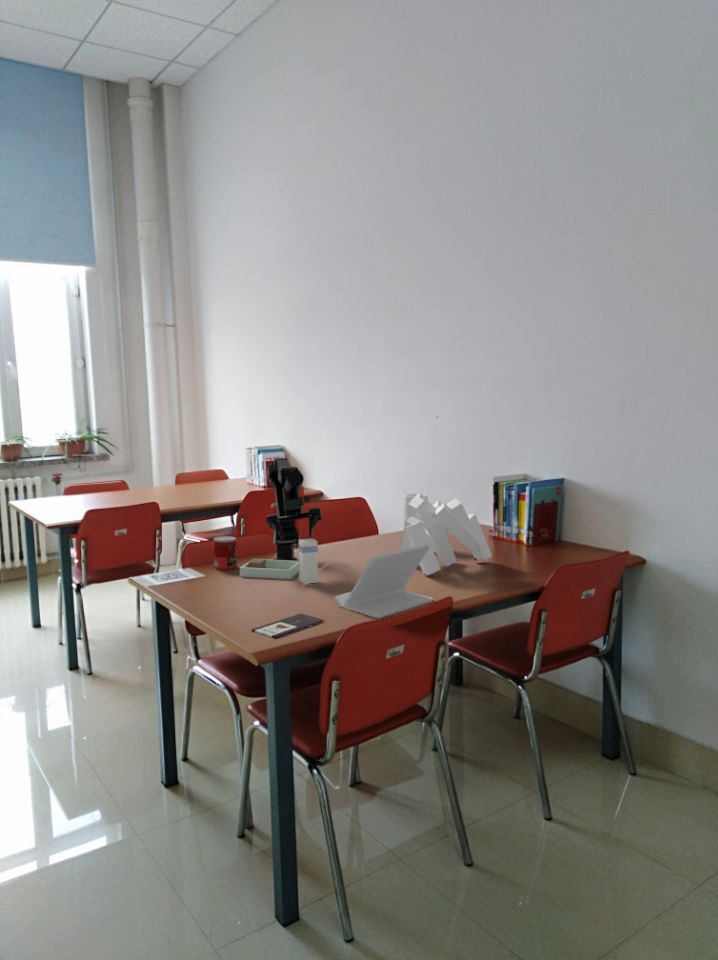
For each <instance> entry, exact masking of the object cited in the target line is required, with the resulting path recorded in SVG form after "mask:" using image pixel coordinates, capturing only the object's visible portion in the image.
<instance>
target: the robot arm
mask: <svg viewBox="0 0 718 960" xmlns="http://www.w3.org/2000/svg"><path fill="white" fill-rule="evenodd" d="M266 478H267V480H268V482H269V486H270V487H271V488H272V489H273V490H274V497H275V503H276V512H277V513H273V514H268V515H266V518H265V519H266V524H267V526H268V529H272V530H273V531H274V532H273V535H272V536H273V537H272V541H273V543H272V544H273V545H275V546H276V558H273V560H289V561H297V560H298V557H295V550H294V549H295V547H294V545H298V544H299V537H300V531H299V530H298V529H299V528H298V527H296V521H297V520H304V519H308V534H309V539H312V537H313V532H314V529H315V528H316V524H318V523H320V521H322V520H323V515H322V511H321V510H322V509H321V508H320V507H319V506H318V507H310V508H308V512H303V510H302V507H304V506H305V501H304V495H303V496H302V495H301V494H300V491H301V489H302V485H303V483H304V475H303V473H302V472H301V470H300V469H299V467H298V466H294V465H293V466H292V465H291V464H290V463H289V459H288V458H285V457H277V458H274V459H273V462H272V463H271V464H269V465H268V467H267V471H266ZM300 495H301V496H300Z"/></svg>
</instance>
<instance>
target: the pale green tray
mask: <svg viewBox="0 0 718 960" xmlns="http://www.w3.org/2000/svg"><path fill="white" fill-rule="evenodd" d="M253 559H254V558H252V559H251V560H253ZM265 559H266V568H249V562H250V561H251V560H249V561H247V562H246V563H245V564H243V565H242V566H240V567H239V577H241V578H242V577H243V578H259V579H260V578H262V579H280V580H291V579H292V578H293V577H295V576H296V575H297V574H299V560H290V561H289V560H274V559H267V558H265Z"/></svg>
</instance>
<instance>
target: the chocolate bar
mask: <svg viewBox="0 0 718 960" xmlns="http://www.w3.org/2000/svg"><path fill="white" fill-rule="evenodd" d="M322 621H324V622H325V619H322V618H318V617H315V616H311V615H308V614H304V613H298V614H295V615H292V616H289V617H286V618H282V619H279V620H275V621H274V622H270V623H266V624H264V625H261V626H257V627H254V628H252V629H251V632H252V631H253V633H256V634H259V635H262V636H265V637H268V638H271V639H279V638H281V636H282V637H284V635H285V636H287V634H288V635H290V634H289V633H291V634H293V633H295V632H294V631H296V632H298V631H297V630H299V631H301V630H300V629H302V628H305V627H308V626H310V625H313V624H316V623H319V622H322ZM322 623H323V622H322ZM319 624H320V623H319ZM316 625H317V624H316ZM313 626H314V625H313ZM308 628H309V627H308ZM305 629H306V628H305ZM302 630H303V629H302ZM292 632H293V633H292Z"/></svg>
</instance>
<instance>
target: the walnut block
mask: <svg viewBox="0 0 718 960" xmlns="http://www.w3.org/2000/svg"><path fill="white" fill-rule="evenodd" d="M252 559H253V560H252ZM252 559H251V560H249V561H250V562H249V561H248V562H249V568H266V559H267V558H265V559H264V558H252Z"/></svg>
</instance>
